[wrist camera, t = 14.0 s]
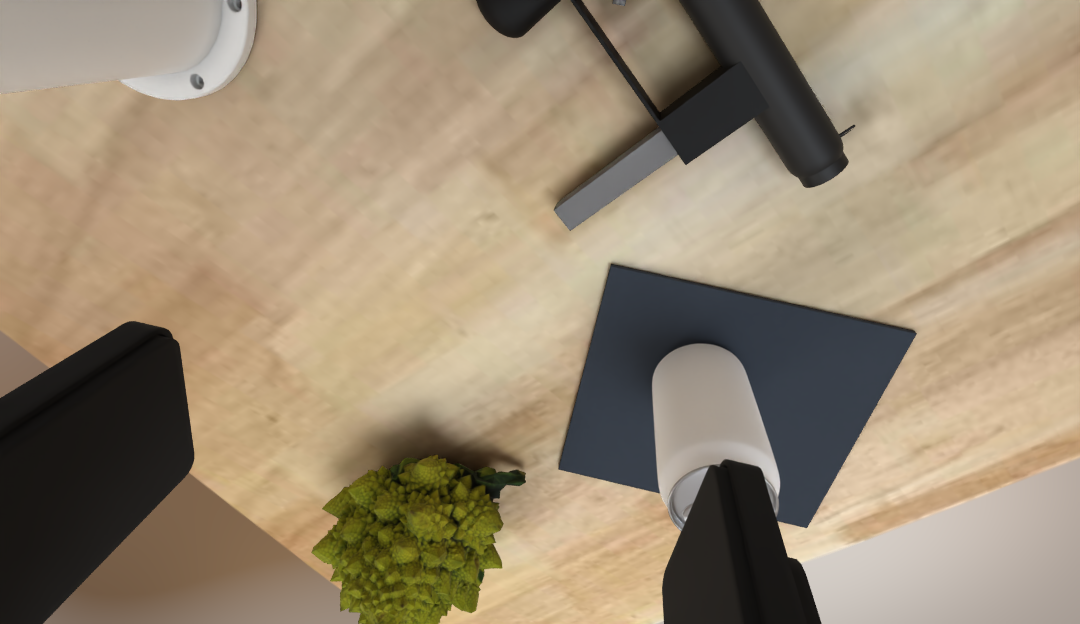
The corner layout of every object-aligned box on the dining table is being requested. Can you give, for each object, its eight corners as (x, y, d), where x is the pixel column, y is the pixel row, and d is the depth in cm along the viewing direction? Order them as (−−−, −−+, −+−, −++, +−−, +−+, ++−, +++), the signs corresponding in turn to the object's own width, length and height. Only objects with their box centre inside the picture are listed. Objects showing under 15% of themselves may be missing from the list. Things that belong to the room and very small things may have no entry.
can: (632, 381, 42) (633, 505, 31) (698, 322, 39) (725, 437, 28) (697, 432, 43) (720, 568, 32) (766, 378, 40) (815, 509, 29)
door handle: (625, 306, 37) (881, 151, 30) (407, 35, 31) (658, -232, 24) (628, 283, 40) (862, 137, 33) (429, 32, 34) (659, -208, 27)
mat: (559, 466, 47) (558, 469, 46) (611, 263, 38) (610, 265, 38) (805, 524, 46) (807, 528, 45) (914, 330, 37) (917, 333, 37)
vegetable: (549, 463, 41) (443, 689, 34) (532, 507, 55) (453, 676, 48) (372, 374, 44) (236, 570, 36) (397, 437, 57) (302, 589, 50)
